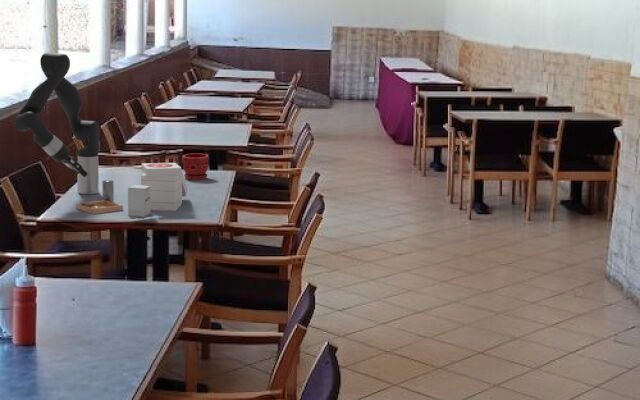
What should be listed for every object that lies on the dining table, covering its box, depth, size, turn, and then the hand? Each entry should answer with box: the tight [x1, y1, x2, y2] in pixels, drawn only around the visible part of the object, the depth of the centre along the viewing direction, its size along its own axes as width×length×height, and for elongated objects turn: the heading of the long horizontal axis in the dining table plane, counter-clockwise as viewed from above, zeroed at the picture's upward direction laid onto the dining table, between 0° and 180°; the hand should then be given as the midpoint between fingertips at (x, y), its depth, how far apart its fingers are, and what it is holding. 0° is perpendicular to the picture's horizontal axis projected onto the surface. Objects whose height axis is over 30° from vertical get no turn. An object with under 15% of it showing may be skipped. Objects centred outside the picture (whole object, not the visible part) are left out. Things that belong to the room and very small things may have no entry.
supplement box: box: [127, 184, 151, 220], centre depth 415 cm, size 7×7×13 cm
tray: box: [75, 199, 124, 215], centre depth 424 cm, size 14×14×3 cm
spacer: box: [102, 179, 115, 203], centre depth 435 cm, size 5×5×11 cm
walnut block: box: [80, 201, 94, 208], centre depth 423 cm, size 4×4×2 cm
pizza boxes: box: [140, 162, 188, 212], centre depth 442 cm, size 19×30×18 cm, turn 177°
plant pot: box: [181, 153, 210, 181], centre depth 510 cm, size 13×13×12 cm
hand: (82, 173), depth 427 cm, fingers open, 8 cm apart
